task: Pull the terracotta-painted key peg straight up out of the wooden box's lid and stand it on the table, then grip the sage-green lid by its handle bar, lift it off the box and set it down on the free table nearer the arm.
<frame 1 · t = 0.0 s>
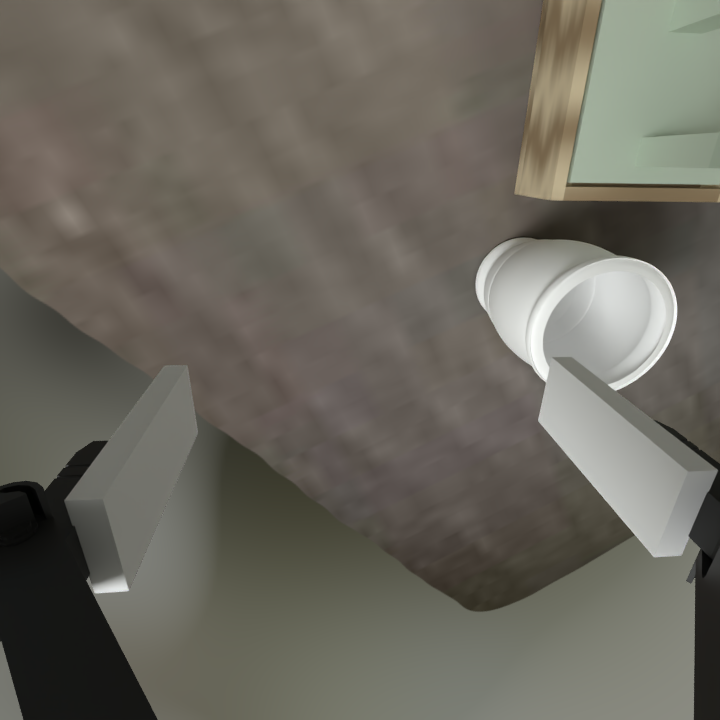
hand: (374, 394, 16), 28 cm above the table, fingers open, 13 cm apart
lid: (674, 36, 31), point 6 cm above the table, touching wooden box
wooden box: (622, 54, 37), on the table
jar: (515, 278, 44), on the table
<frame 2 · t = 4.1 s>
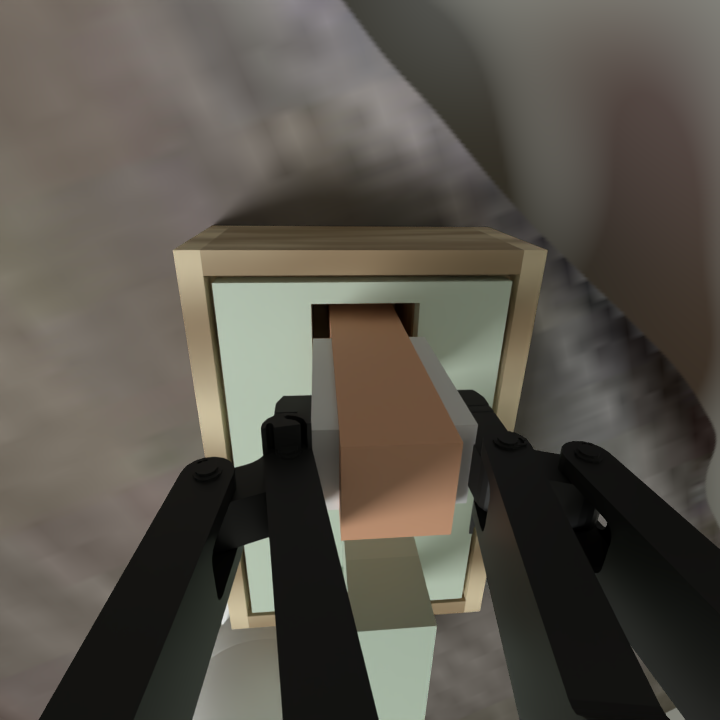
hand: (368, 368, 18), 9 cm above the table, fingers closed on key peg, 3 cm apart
lid: (360, 460, 23), point 6 cm above the table, touching wooden box
wooden box: (352, 403, 28), on the table
key peg: (354, 311, 25), point 1 cm above the table, touching gripper, wooden box
jar: (276, 607, 36), on the table
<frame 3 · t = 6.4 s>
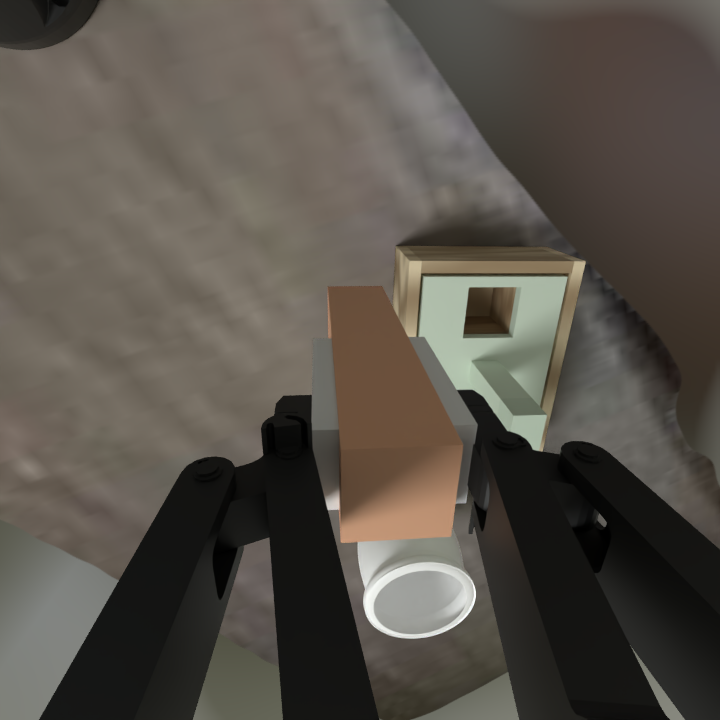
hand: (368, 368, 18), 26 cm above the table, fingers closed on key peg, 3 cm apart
lid: (478, 375, 42), point 6 cm above the table, touching wooden box
wooden box: (459, 350, 47), on the table
key peg: (354, 312, 25), point 19 cm above the table, touching gripper
jar: (394, 492, 55), on the table
when the fingers open (9 cm above the table, at t = 8.5 s): key peg drops 1 cm, on the table.
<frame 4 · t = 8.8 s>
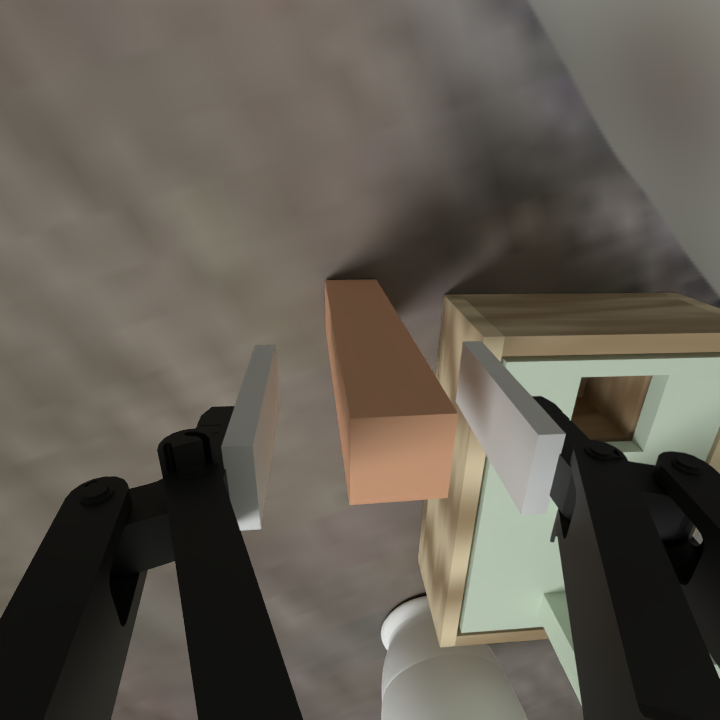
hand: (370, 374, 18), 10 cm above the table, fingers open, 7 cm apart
lid: (576, 501, 26), point 6 cm above the table, touching wooden box
wooden box: (531, 442, 32), on the table
key peg: (350, 304, 26), on the table
jar: (427, 622, 39), on the table
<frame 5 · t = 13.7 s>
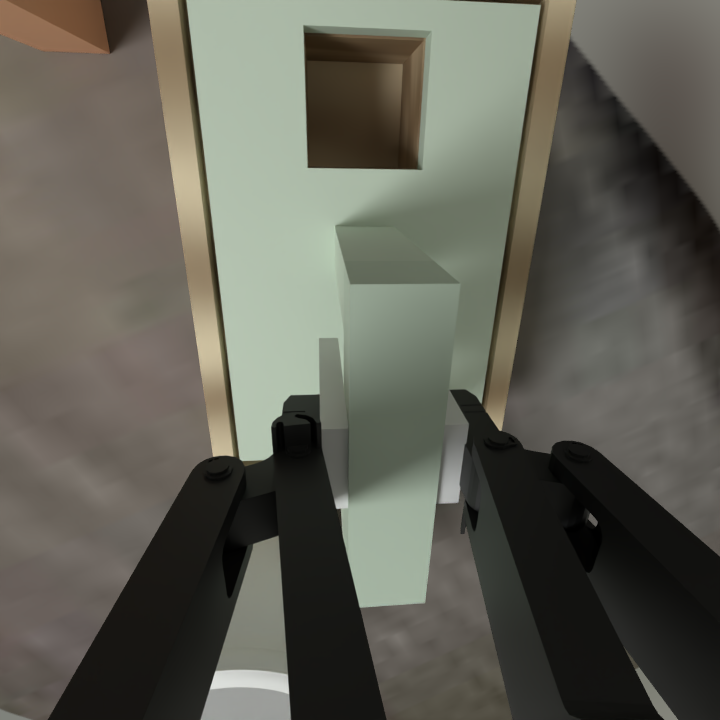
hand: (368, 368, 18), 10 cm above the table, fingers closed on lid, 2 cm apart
lid: (361, 268, 20), point 6 cm above the table, touching gripper, wooden box
wooden box: (352, 245, 26), on the table
key peg: (68, 13, 20), on the table
jar: (269, 503, 33), on the table
when the fingers open (5 cm above the table, at t = 19.8 s): lid drops 1 cm, on the table.
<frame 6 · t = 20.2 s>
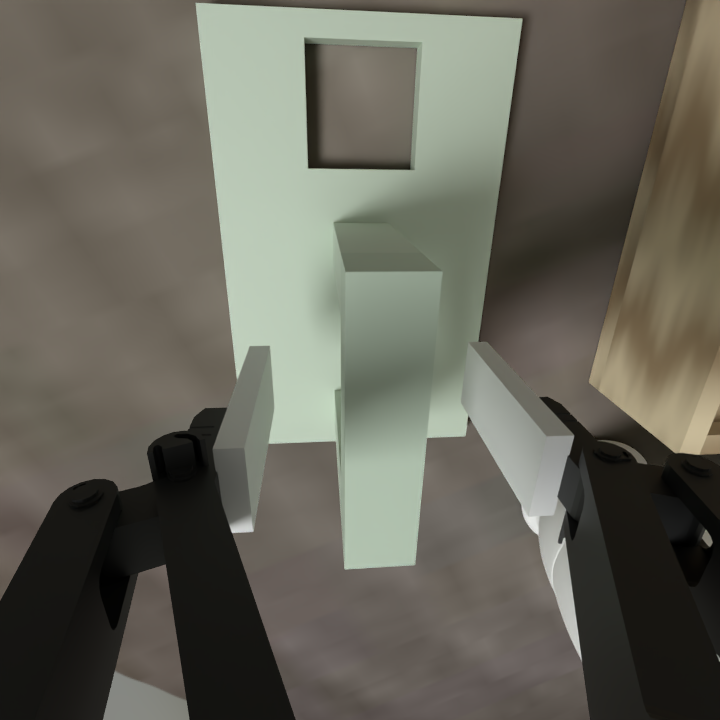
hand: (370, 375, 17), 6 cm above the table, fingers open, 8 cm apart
lid: (358, 262, 22), on the table
jar: (580, 487, 29), on the table
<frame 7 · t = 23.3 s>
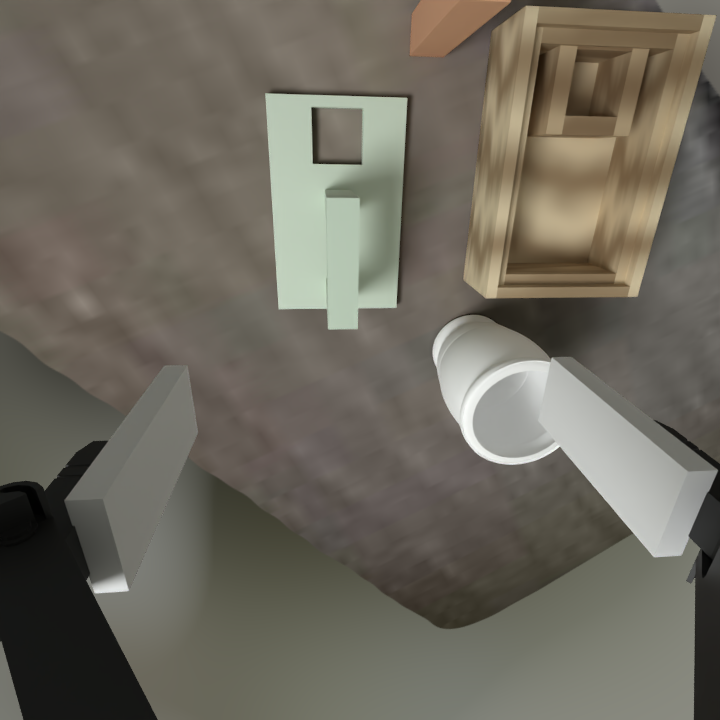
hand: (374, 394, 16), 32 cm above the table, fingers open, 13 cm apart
lid: (337, 210, 44), on the table
wooden box: (549, 169, 44), on the table
key peg: (427, 36, 38), on the table
jar: (467, 347, 51), on the table
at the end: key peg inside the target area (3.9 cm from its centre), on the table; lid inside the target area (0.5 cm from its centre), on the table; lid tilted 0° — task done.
